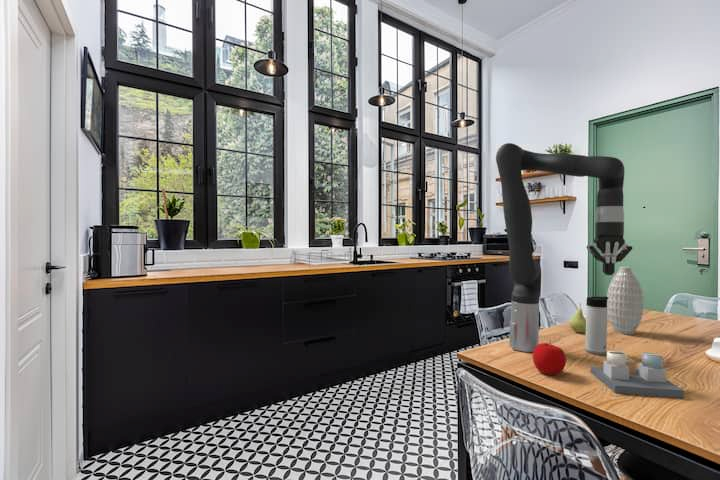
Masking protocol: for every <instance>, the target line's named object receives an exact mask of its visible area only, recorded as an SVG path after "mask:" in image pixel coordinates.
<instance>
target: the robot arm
mask: <svg viewBox="0 0 720 480" xmlns="http://www.w3.org/2000/svg"><path fill="white" fill-rule="evenodd" d="M495 163H496V165H497V170H498V173H499V174H498V175H499V179H500V185H501V197H502V205H503V206H502V207H503V208H502V209H503V217H504V223H505V229H506V236H507V237H506V238H507V242H508V249H509V251H508V253H509V254H508V256H509V260H508V261H509V267H508V268H509V274H510V276H511V279H512V280H513V282H514V283H513V290H512V292H511V309H510V311H511V313H510V315H511V317H510V318H511V319H510V320H509V346H510V348H511V349H512V350H513V351H520V352H525V353H533V351H534V349H535V347H536V346H537V345H539V344H540V343H539V342H540V341H539V339H540V335H539V333H540V329H539V328H540V325H539V324H540V297H541V294H542V293H541V292H542V268H541V265H540V263H539V262H538V261H537V260H536V259H534V258H533V253H532V247H531V246H532V244H531V239H532V232H533V231H532V230H533V215H532V206H531V205H532V204H531V201H530V198H529V195H528V192H527V190H526V187H525V185H524V182H523V176H522V171H534V172H535V171H537V172H543V173H544V172H545V173H551V174H556V175H562V176H570V177H571V176H572V177H577V178H578V177H579V178H580V177H581V178H582V177H587V178H588V177H589V178H597V179H598V190H597V194H596V209H595V210H596V211H595V231H594V232H595V238H594V241H593V243H591V244H589V245H588V244H587V246H586V249H587V251H588V252H589V253H590V254H591V255H592V257H593V258H594V260H596V261H598V262H601V263H602V273H603V274H604V275H605V276H613V275H614V274H615V267H616V265H615V264H616V263H620V262H622V261H623V260H624V259H625V258H626V257H627V256H628V254H629V253H630V252H631V251H632V250H633V249H634V248H633V246H631V245H628V244H627V243H626V241H625V239H624V235H625V210H624V184H625V183H624V182H625V166H624V163H623V161H622V160H620V159H619V158H617V157H614V156H606V155H605V156H603V155H602V156H600V155H598V156H597V155H595V156H592V155H590V156H589V155H581V154H572V153H571V154H570V153H540V152H539V153H538V152H534V151H529V150H526V149H523V148H522V147H521V146H519V145H517V144H515V143H510V142H509V143H508V142H506V143H504V144H502V145H501V146H500V147H499V148H498V150H497V151H496V154H495ZM599 251H600V252H599Z"/></svg>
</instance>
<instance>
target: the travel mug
mask: <svg viewBox="0 0 720 480" xmlns="http://www.w3.org/2000/svg"><path fill="white" fill-rule="evenodd" d="M607 299H608V297H607V295H606V296H605V295H604V296H589V297H586V305H585V306H586V307H585V320H586V331H585V352H586V353H587V354H590V355H595V356H607V351H608V350H607V347H608V346H607V344H608V338H607V337H608V314H607Z"/></svg>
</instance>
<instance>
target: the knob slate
mask: <svg viewBox="0 0 720 480" xmlns="http://www.w3.org/2000/svg"><path fill="white" fill-rule="evenodd" d="M641 363H642V365H643V366H645V367H648V368H653V369H662V367H663V364H664V363H663V355H659V354H657V353H652V352H642V353H641Z"/></svg>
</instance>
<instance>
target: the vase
mask: <svg viewBox="0 0 720 480" xmlns="http://www.w3.org/2000/svg"><path fill="white" fill-rule="evenodd" d="M606 297H608V299H607V318H608V321H609V322H610V325H611V326H612V328H613V331H614V332H615V333H618V334H621V335H633V334H634V333H635V332H636V331H637V330H638V327H639V326H640V324H641V321H642V319H643V315H644V303H645V302H644V294H643V290H642V286H641V284H640V281H639V280H638V279H637V277H636V276H635V274H634V272H633V271H632V268H631V267H629V266H619V268H618V271H617V272H616V274H615V275H614V276H613V277H612V279H611V281H610V282H609V285H608V288H607V291H606Z"/></svg>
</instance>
